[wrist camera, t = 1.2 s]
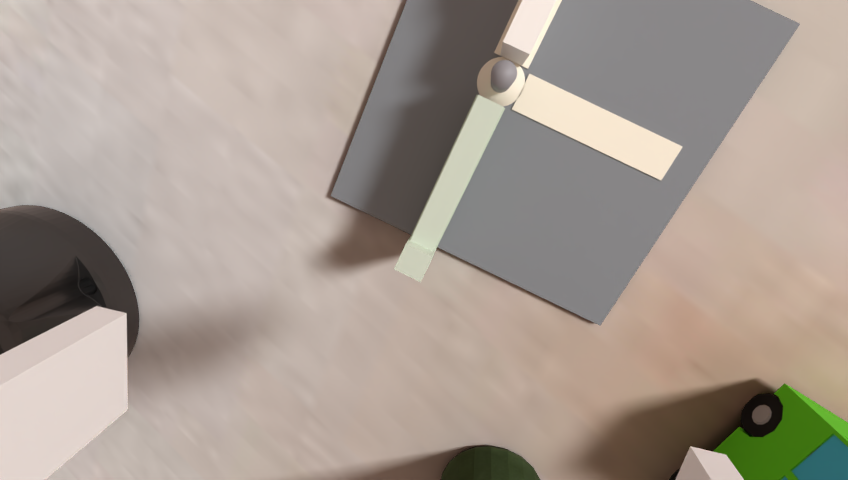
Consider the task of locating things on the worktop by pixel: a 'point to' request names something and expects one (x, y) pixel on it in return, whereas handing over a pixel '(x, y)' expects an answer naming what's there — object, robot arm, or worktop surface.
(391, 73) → the mat
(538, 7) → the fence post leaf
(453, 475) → the wine bottle
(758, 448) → the toy car
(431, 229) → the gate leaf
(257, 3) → the worktop surface
